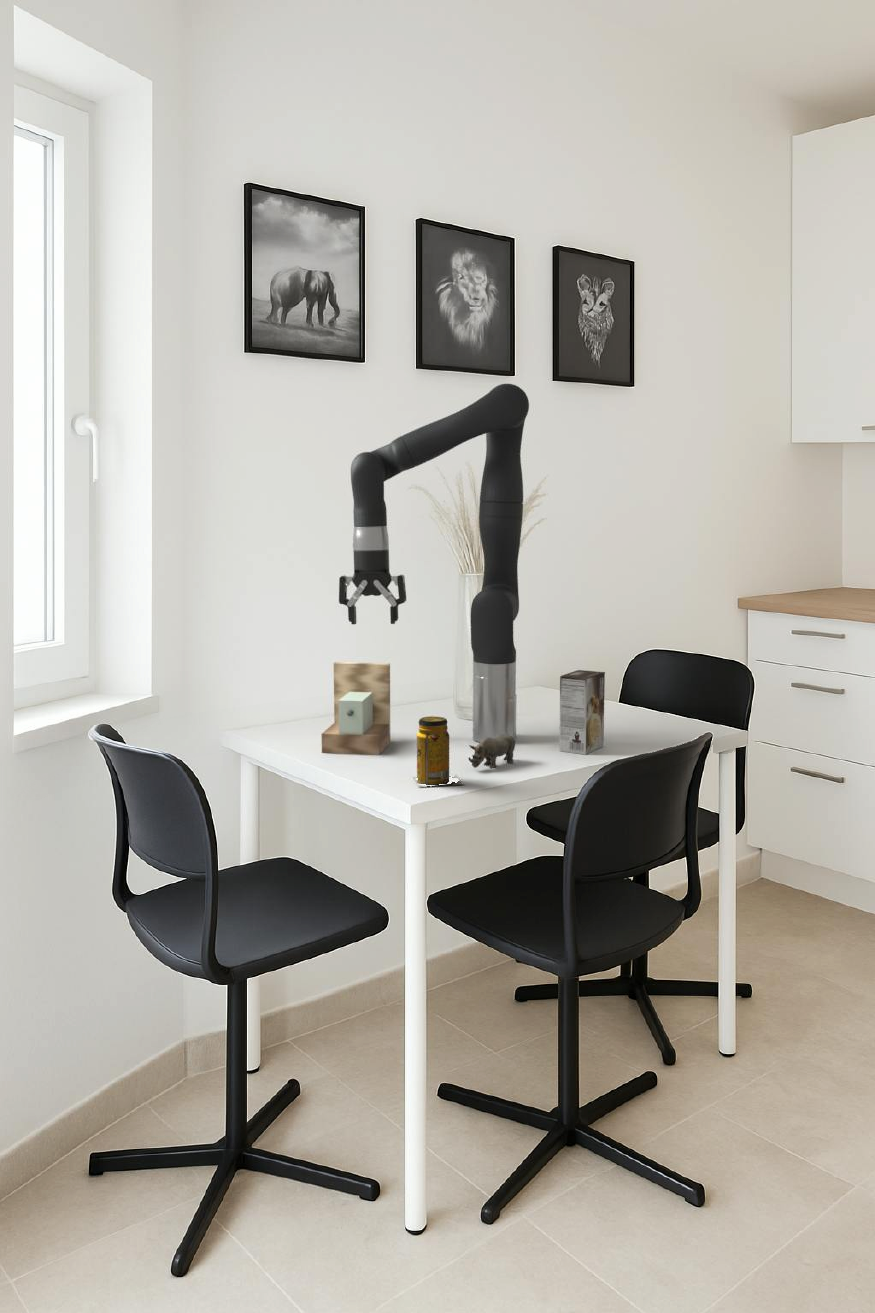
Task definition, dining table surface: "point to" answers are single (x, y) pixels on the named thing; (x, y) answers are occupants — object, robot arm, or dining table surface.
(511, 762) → the rhino figurine
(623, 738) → the dining table surface
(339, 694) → the wall board
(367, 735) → the ledge
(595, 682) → the coffee box
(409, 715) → the dining table surface
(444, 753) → the condiment
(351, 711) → the mint green tall box
